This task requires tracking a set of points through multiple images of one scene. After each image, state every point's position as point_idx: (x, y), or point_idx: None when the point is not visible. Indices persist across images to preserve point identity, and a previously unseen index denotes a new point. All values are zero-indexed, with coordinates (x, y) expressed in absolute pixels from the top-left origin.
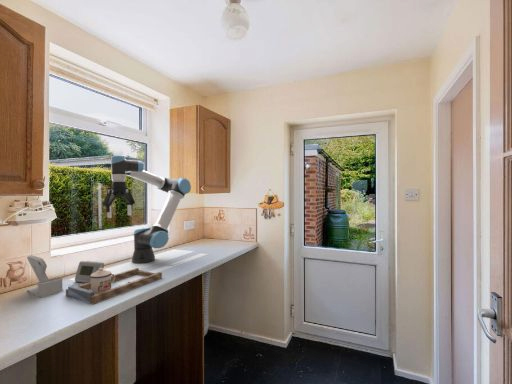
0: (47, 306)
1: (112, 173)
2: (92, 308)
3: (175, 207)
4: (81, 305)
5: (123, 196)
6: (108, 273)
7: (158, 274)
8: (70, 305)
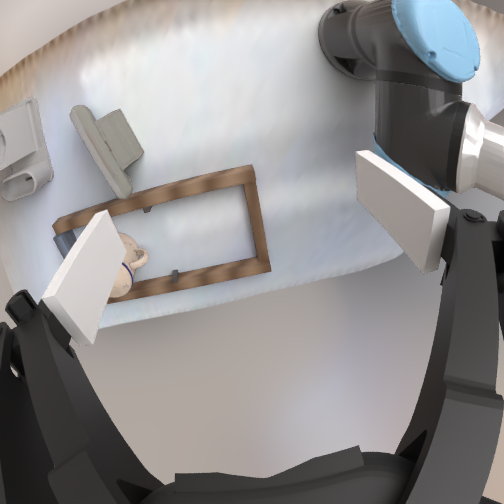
0: (37, 252)
1: None
2: None
3: None
4: None
5: (415, 434)
6: (123, 294)
7: (259, 272)
8: None
